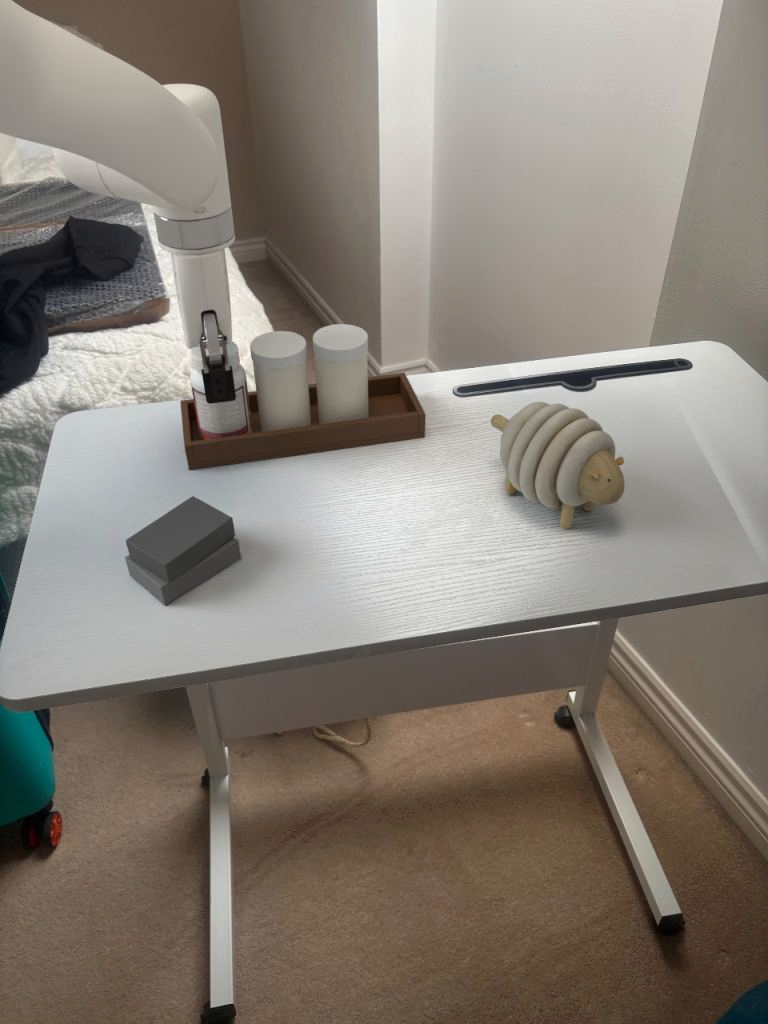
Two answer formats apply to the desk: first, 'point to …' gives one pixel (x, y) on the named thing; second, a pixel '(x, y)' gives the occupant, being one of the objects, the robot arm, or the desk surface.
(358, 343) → the white bottle
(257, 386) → the white bottle
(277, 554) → the desk surface
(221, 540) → the grey books
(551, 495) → the toy sheep
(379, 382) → the tray
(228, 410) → the pill bottle
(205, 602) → the desk surface
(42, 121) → the robot arm
